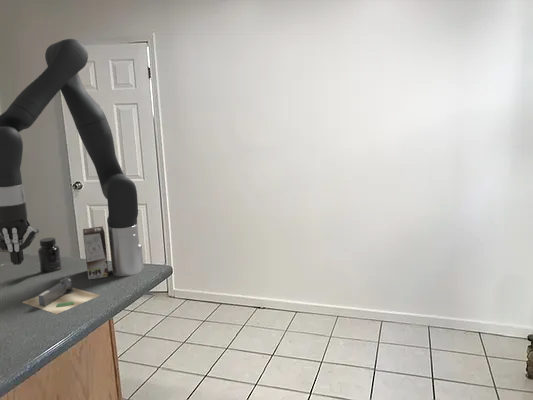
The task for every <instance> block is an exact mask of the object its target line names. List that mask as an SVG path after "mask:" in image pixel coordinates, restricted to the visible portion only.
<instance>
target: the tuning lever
mask: <svg viewBox="0 0 533 400" xmlns="http://www.w3.org/2000/svg"><path fill="white" fill-rule="evenodd" d="M72 287H73V283H72V277H68V276H67V277H63V278H60V280H59V283H57V284H56V285H54V286H52V287H50V288H48V289H47V290H45V291H43V292H41V293H40V294H38V295H37V296H38V297H39V304H40V306H46V305H47V304H49V303H50V302H52V301H54V300H55V299H57V298H58V297H60V296H62V295H63V294H65V293H66V292H70V291H72Z"/></svg>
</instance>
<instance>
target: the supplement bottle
mask: <svg viewBox="0 0 533 400" xmlns="http://www.w3.org/2000/svg"><path fill="white" fill-rule="evenodd" d="M39 246H40V247H39V248H38V249H37V256H38V257H37V258H38V264H39V265H38V266H39V271H40V273H53V272H58V271H60V270H61V269H63V265H62V256H61V248H60V247H59V246H58V245H57V242H56V238H55V237H45V238H41V239H40V240H39Z"/></svg>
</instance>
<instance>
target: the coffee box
mask: <svg viewBox="0 0 533 400" xmlns="http://www.w3.org/2000/svg"><path fill="white" fill-rule="evenodd" d="M82 234H83V244H84V253H85V262H86V271H87V277H88V278H87V279H88V280H92V279H93V280H95V279H100V278H106V277H109V275H110V274H109V265H108V263H109V262H108V253H107V244H106V236H105V235H106V233H105V230H104V226H94V227H89V228H88V227H87V228H83V229H82Z"/></svg>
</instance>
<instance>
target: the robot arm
mask: <svg viewBox="0 0 533 400" xmlns="http://www.w3.org/2000/svg"><path fill="white" fill-rule="evenodd" d="M88 53H89V52H88V50H87V48H86V46H85V45H84V44H83V43H82V42H81V41H79V40H77V39H74V38H66V39H61V40H59V41H57V42H55V43H52V44H50V45H49V46H48V47H47V49H45V54H44V59H45V62H46V65H47V67H46V69H44V70H43V71H42V73H41V74H40V75H39V76H37V77H36V78H35V79H34V80H33V81H32V82H30V84H29V85H27V86H26V87H25V88H24V89H23V90H22V91H21V92H20V93H19V94H18V95H17V96H16V98H15V99H14V100H13V101H12V103H11V104H10V105H9V106H8V107H7V109H6V110H5V111H3V113H1V114H0V249H1V250H2V251H8V252H9V257H10V262H11V263H12V264H13V266H17V265H18V266H19V265H21V264H22V263H23V262H24V260H25V257H24V250H25V249H27V248H28V247H30V245H31V244H32V243H33V241H34V240H35V238H36V236H37V235H38V234H39V233H40V232H39V229H38V228H35V229H34V228H33V227H32V226H31V224H30V221H29V220H28V210H27V204H26V195H25V190H24V186H23V180H22V173H21V165H22V161H23V149H24V144H23V143H24V142H23V139H22V136H21V134H20V132H22V131H23V130H26V129H29V128H30V127H32V126H33V125H34V123H35V122H36V121H37V119H38V118H39V116H40V115H41V114H42V113H43V111H44V110H45V109H46V107H47V106H48V105H49V103H50V102H51V101H52V100H53V99H54V97H55V96H56V95H57V94H58V93H59V92H61V94H62V96H63V98H64V101H65V104H66V106H67V108H68V111H69V113H70V116H71V118H72V120H73V122H74V124H75V128H76V131H77V132H78V135H79V138H80V139H81V141H82V144H83V146H84V148H85V150H86V152H87V154H88V156H89V158H90V159H91V162H92V164H93V166H94V168H95V171H96V174H97V178H98V181H99V185H100V188H101V192H102V194H103V196H104V198H105V199H106V200H107V209H108V210H107V211H108V216H107V219H106V224H107V231H108V241H109V251H110V253H109V254H110V263H111V271H112V275H114V276H115V277H116V276H117V277H128V276H133V275H136V274H139V273H140V272H141V271H142V270H144V254H143V245H141V244H140V238H139V237H140V236H139V226H138V216H139V206H138V204H139V203H138V201H139V200H138V191H137V187H136V185H135V182H133V180H132V179H130V178H128V177H126V175H125V173H124V171H123V169H122V167H121V165H120V163H119V160H118V158H117V155H116V150H115V148H116V147H115V142H114V137H113V133H112V129H111V127H110V125H109V122H108V118H107V116H106V114H105V112H104V111H103V109H102V108H101V106H100V105H99V104H98V102H96V100H94V99H95V98H93V97H92V96H91V95H90V94H89V93H88V91H87V90H86V88H85V86H84V84H83V82H82V79H81V78H80V75H79V72H80V71H81V70H83V69H84V68H85V67H86V65H87V63H88V58H89V54H88ZM26 235H27V237H26V238H25V239H24V237H25V236H26Z"/></svg>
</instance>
